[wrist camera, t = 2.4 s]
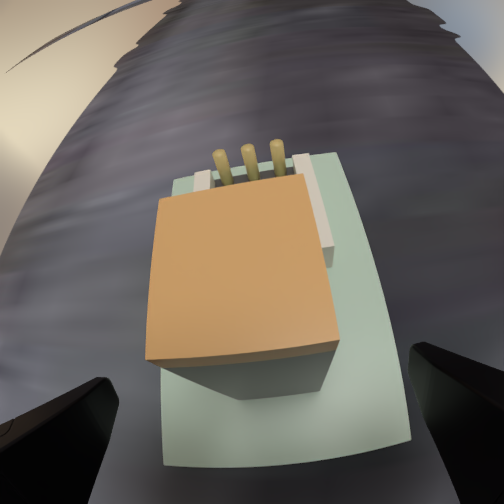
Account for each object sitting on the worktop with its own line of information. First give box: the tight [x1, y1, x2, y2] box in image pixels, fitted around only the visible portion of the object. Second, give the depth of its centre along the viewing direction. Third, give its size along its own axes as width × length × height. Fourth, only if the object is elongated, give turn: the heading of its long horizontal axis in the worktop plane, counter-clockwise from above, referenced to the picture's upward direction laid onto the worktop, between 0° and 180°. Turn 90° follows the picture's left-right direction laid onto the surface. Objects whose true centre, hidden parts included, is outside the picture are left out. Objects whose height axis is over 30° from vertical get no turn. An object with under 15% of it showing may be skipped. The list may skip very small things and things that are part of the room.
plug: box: [145, 173, 340, 400], centre depth 13 cm, size 5×4×11 cm
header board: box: [161, 139, 411, 468], centre depth 18 cm, size 22×14×5 cm, turn 4°
